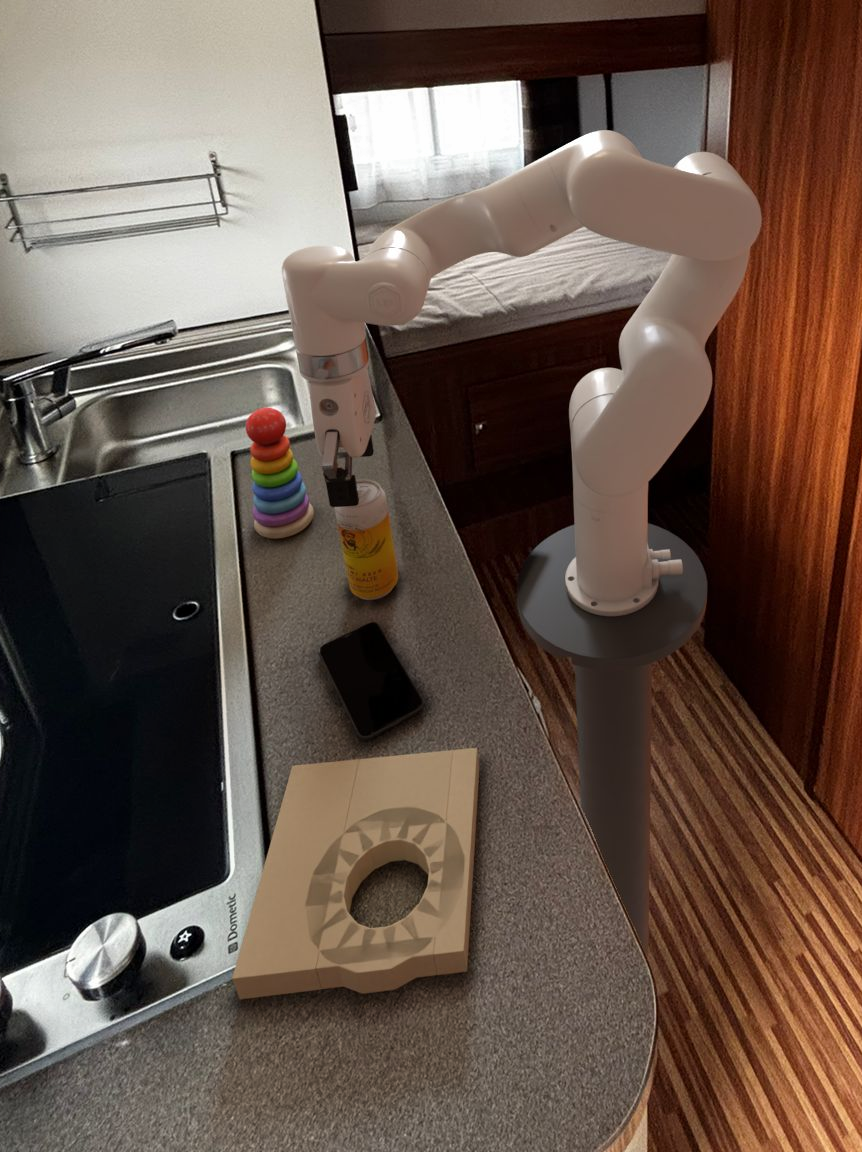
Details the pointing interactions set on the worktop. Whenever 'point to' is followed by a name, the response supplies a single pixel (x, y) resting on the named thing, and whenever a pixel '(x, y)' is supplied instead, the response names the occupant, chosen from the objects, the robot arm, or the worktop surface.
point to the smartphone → (370, 680)
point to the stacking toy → (275, 478)
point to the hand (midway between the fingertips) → (353, 479)
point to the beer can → (368, 542)
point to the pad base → (363, 875)
